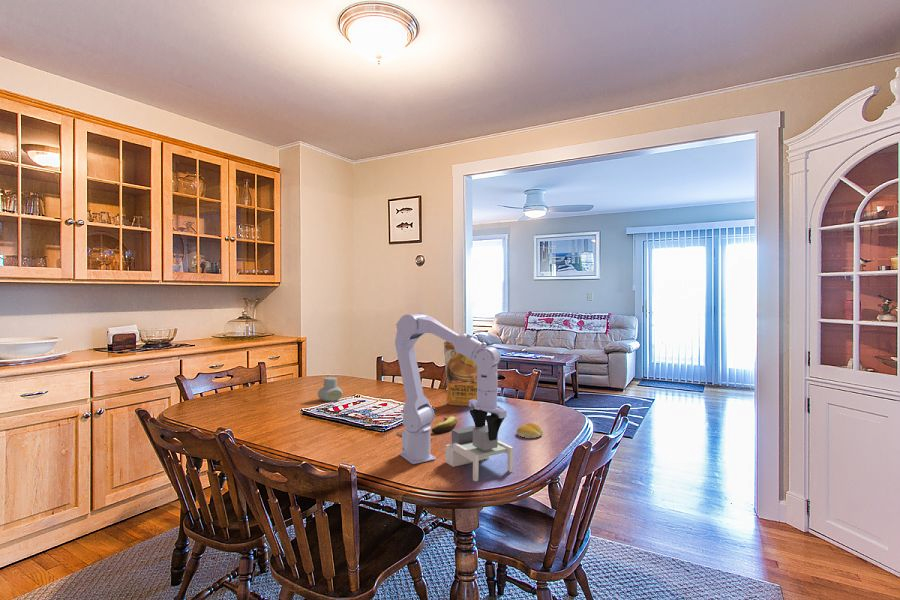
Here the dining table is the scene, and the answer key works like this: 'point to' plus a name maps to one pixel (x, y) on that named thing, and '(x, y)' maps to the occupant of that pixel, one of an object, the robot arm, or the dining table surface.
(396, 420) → the dining table surface
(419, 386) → the robot arm
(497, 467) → the dining table surface
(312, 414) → the dining table surface
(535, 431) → the bread roll
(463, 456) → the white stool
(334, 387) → the air freshener
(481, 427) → the grey cube
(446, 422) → the yellow and brown crescent
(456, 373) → the pancake mix bag
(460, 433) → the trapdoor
